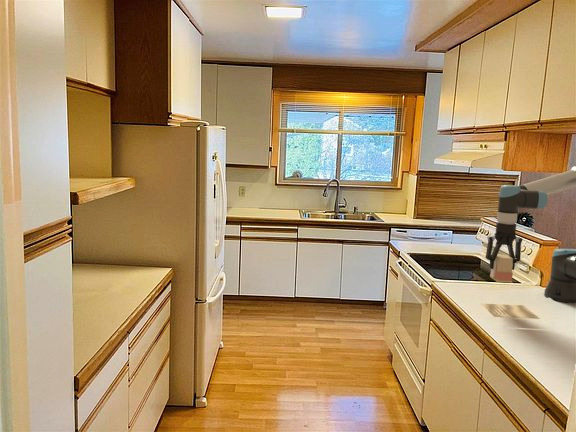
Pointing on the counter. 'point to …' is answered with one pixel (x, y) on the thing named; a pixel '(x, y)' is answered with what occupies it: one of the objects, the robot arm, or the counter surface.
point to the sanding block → (503, 268)
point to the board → (509, 311)
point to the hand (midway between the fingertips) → (500, 276)
